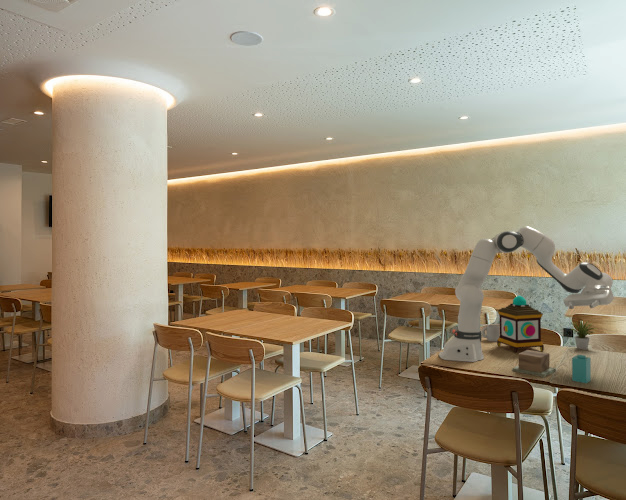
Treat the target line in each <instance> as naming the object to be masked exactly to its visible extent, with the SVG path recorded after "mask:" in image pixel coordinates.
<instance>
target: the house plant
mask: <svg viewBox="0 0 626 500" xmlns="http://www.w3.org/2000/svg"><path fill="white" fill-rule="evenodd" d="M579 322H580V323H576V322H575V321H573V323H571V325H572V326H573V327H574V328H571V330H572V331H573V335H574V334H577V335H575V336H574V339H575V345H576V349H578V350H588V349H589V343H590V339H591V338H590V337H588V336H591V335H590V334H596V331H593V330H594V329H595V330H596V329H599V328H598V327H596V328H595V327H593V325H592V324H593V322H591V323H589V320H587V321H586V322H585V323H583V321H582V319H580V321H579ZM588 323H589V324H588Z"/></svg>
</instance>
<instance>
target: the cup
mask: <svg viewBox="0 0 626 500" xmlns="http://www.w3.org/2000/svg"><path fill="white" fill-rule="evenodd" d="M485 332H486V334H485ZM481 334H482V338H484V339H486V340H487V341H488V342H495V343H497V340H498V338H499V336H500V325H498V324H487V325H486V326H485V327H483V328H482V329H481Z"/></svg>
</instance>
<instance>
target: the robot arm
mask: <svg viewBox="0 0 626 500" xmlns="http://www.w3.org/2000/svg"><path fill="white" fill-rule="evenodd" d="M519 248H523V249H525V250H527V251H528V252H529V253H530V254H532V255H533V256H534V257H535V259H536V263H537V265H538V266H539V267H540V268H541V269H542V270H543V271H544V272H545V273H547V274H548V275H549V276H550V277H552V279H554V281H556V282H557V283H558V284H559V285H560V287H562V288H563V290H564V291H566V292H567V293H571V294H569V295H567V296H566V297H565V298H563V300H562V301H563V304H564V306H565V307H567V308H568V309H569V310H573V309H575V307H586V306H589V308H590V309H594V308H596V307H598V306H600V305H601V306H604V305H606V306H607V305H610V304H611V303H612V302H613V300H614V299H615V296H614V293H613V290H612V287H613V282H614V280H613V279H612V277H611V275H610V274H608V273H606V272H603V271H601V270H600V268H598V266H596V265H595V264H593V263H590V262H586V261H584V262H580V263H579V264H578V265H577V266H575V267H574V268H573V269H572V270H570V271H569V272H568V273H565V272H564V271H562V270H561V269H560V268H559V267H558V266H557V265H555V263H554V262H553V260H552V259H553V256H554V255H555V251H556V246H555V241H554V240H553V239H552V238H551V237H549V236H548V235H546V234H544V233H543V232H541V231H539V230H538V229H535V228H533V227H530V226H528V225H525V226H522V227H520V228H519V229H518V231H513V230H511V231H510V230H509V231H508V230H507V231H506V230H505V231H501V232H499V233H498V234H496V235H495V236H494V237H492V238H491V239H489V238H481V239H479V240H478V241H477V243H476V245H475V246H474V248H473V250H472V252H471V254H470V258H469V261H468V263H467V266H466V269H465V271H464V273H463V274H462V277H461V278H460V280H459V282H458V284H457V285H456V286H455V290H454V294H455V296H456V299H458V301H459V309H458V310H459V311H458V314H457V326H458V328H457V329H452V331H451V332H452V334H453V335H454V336H453V337H452V338H451V339H449V340H448V341H447V342H445V343H444V346H443V349H442V350H443V351H440V352H439V353H438V354H439V355H438V356H439V357H440V359H442V360H445V361H452V362H453V361H454V362H470V363H472V362H473V363H475V362H478V361H481V360H484V359H485V358H484V357H485V356H484V353H483V349H482V339H483V336H482V330H481V315H482V314H481V313H482V307H483V302H484V298H485V295H484V291H482V289H481V287H482V284H483V283H484V282H485V280H486V279H487V277H488V276H489V273H490V271H491V267H492V265H493V262H494V259H495V258H496V255H497V254H498V253H503V254H509V253H512V252H515V251H516V250H518V249H519Z"/></svg>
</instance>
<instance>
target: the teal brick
mask: <svg viewBox="0 0 626 500" xmlns="http://www.w3.org/2000/svg"><path fill="white" fill-rule="evenodd" d="M591 365H592V363H591V357H587V356H586V355H584V354H577V355H575V356H573V357H571V369H572V370H571V371H572V375H571V377H572V378H571V380H572V382H573V381H574V382H578V383H583V384H588V383H590V381H591V379H592V377H591V376H592V374H591V371H592V370H591V368H592V367H591Z"/></svg>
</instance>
